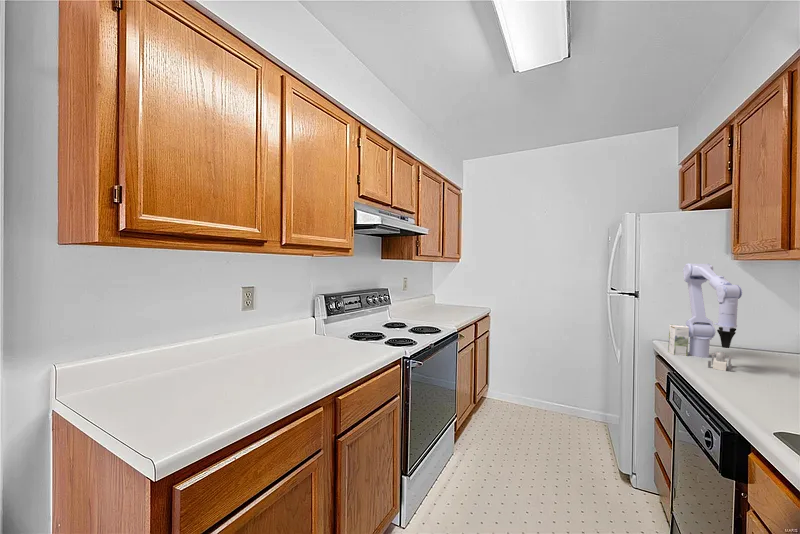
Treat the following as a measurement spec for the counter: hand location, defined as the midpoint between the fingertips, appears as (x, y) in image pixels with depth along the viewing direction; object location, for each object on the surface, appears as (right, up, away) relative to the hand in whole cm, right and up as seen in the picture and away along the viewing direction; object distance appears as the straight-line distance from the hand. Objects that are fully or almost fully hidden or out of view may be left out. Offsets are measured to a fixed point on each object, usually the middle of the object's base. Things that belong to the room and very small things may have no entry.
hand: (726, 346), depth 153 cm
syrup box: (-4, -9, +21) cm, 24 cm away
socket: (-4, -10, -2) cm, 11 cm away
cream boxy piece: (+1, -10, +4) cm, 11 cm away
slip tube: (-2, -9, 0) cm, 9 cm away
